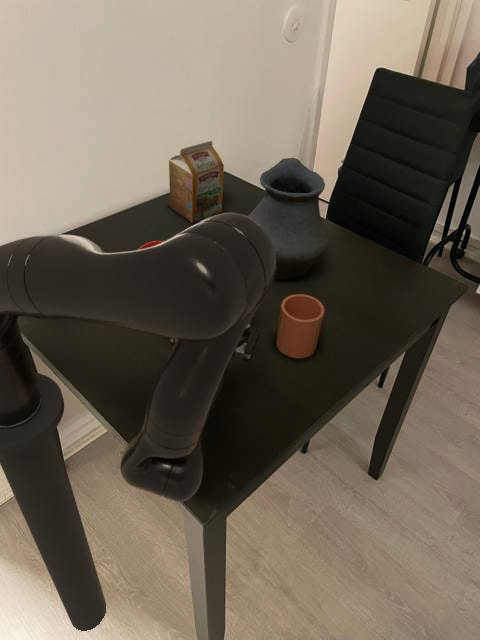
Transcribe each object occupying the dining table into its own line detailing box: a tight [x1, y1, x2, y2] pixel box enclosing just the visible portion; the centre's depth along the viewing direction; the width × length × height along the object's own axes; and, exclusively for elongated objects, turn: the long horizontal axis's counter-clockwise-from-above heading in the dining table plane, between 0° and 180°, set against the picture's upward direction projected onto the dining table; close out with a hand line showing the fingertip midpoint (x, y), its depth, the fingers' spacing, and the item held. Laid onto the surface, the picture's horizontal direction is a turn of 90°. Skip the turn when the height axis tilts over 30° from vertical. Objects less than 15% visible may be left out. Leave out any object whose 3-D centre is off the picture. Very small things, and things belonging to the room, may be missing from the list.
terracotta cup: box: [275, 293, 325, 359], centre depth 102 cm, size 8×8×10 cm
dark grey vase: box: [246, 157, 330, 280], centre depth 118 cm, size 21×22×25 cm
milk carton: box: [168, 140, 225, 224], centre depth 139 cm, size 10×11×19 cm
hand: (224, 308), depth 89 cm, fingers open, 8 cm apart
